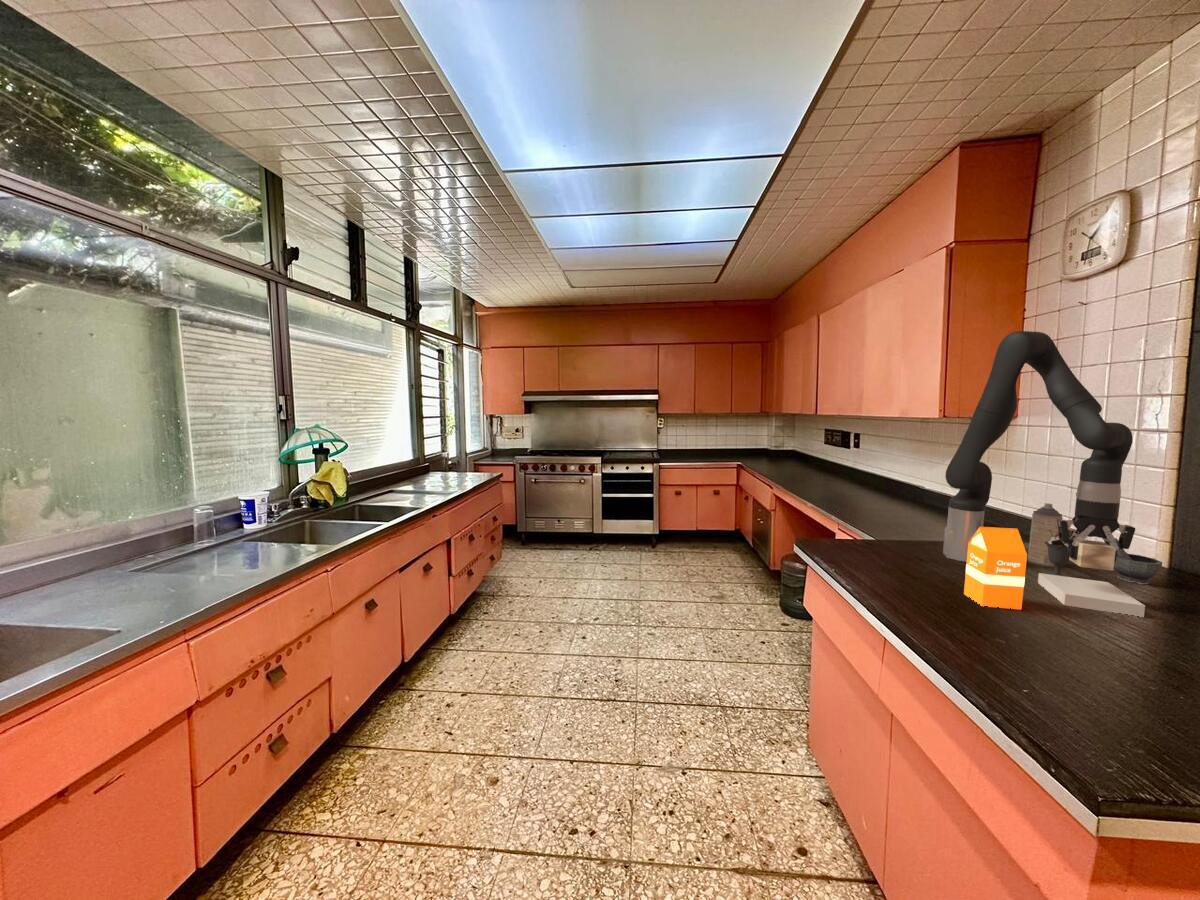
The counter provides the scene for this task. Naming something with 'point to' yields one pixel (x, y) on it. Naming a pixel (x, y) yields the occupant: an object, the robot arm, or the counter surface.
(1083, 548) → the birch block
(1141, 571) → the mortar and pestle
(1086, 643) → the counter surface
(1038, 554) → the aerosol can
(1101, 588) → the cream board
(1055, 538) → the sundae
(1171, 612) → the counter surface
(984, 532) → the orange juice
